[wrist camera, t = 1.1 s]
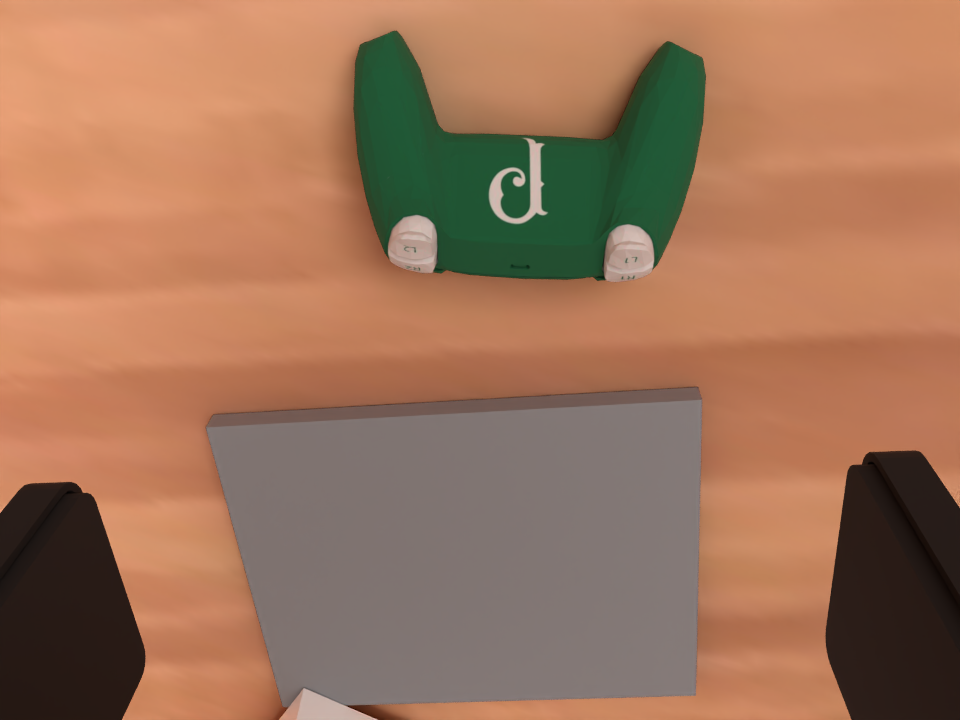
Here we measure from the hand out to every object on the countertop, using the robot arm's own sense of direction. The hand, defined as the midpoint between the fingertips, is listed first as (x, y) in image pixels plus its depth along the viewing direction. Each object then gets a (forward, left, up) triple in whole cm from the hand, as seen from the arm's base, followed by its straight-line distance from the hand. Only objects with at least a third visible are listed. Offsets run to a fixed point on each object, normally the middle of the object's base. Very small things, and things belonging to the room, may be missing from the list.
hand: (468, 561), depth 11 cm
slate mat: (+2, +14, -17) cm, 22 cm away
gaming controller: (-1, -1, -17) cm, 17 cm away
